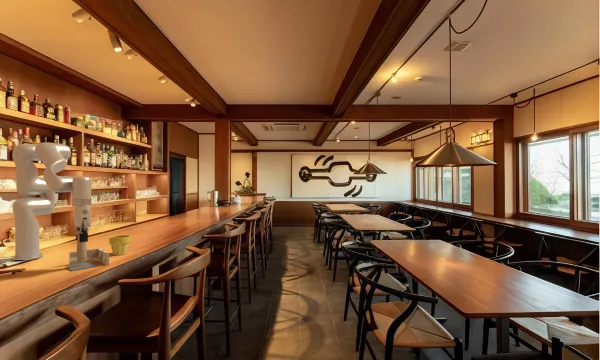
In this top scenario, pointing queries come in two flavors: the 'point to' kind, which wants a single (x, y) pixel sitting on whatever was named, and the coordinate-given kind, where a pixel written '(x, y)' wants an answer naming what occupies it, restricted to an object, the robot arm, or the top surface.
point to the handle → (81, 248)
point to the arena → (91, 256)
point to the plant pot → (120, 244)
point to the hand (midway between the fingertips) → (81, 240)
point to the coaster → (81, 266)
